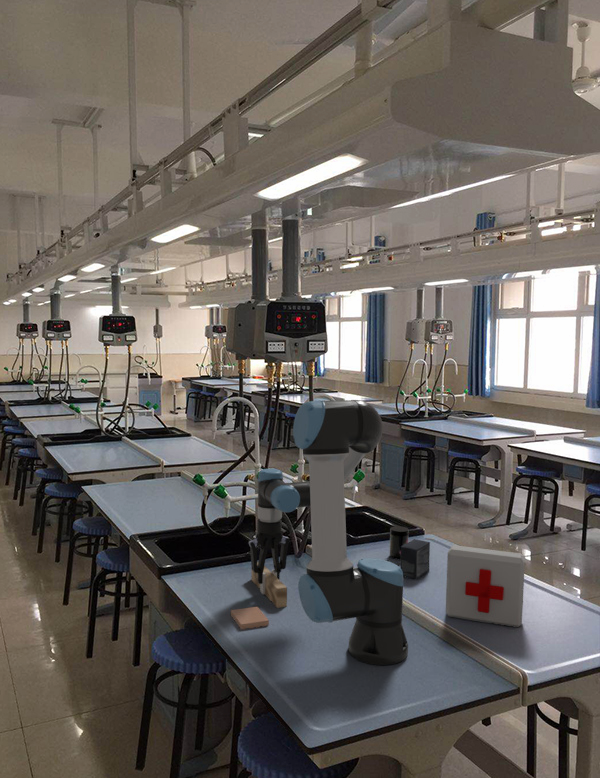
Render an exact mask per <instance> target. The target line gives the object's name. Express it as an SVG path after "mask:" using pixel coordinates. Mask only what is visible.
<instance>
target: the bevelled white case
mask: <svg viewBox="0 0 600 778" xmlns="http://www.w3.org/2000/svg"><path fill="white" fill-rule="evenodd" d="M448 549H449V550H448V552H447V563H446V566H447V567H446V585H445V586H446V589H445V590H446V591H445V595H446V596H445V613H446V615H447V616H448V617H451V618H456V619H461V620H468V621H473V622H474V621H475V622H481V623H487V624H492V623H494V624H493V625H498V624H501V626H504V625H509V626H508V627H511V626H515V627H514V628H517V627H518V628H519V627H520V626H521V625H523V609H524V608H523V606H524V588H525V587H524V585H525V584H524V583H525V567H526V565H525V564H526V559H525V556H524V555H523V554H522V553H520V552H512V551H504V550H496V549H495V550H494V549H487V548H481V547H472V546H464V545H456V544H453V545H452V546H451V547H450V548H448Z"/></svg>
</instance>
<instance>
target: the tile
mask: <svg viewBox="0 0 600 778" xmlns="http://www.w3.org/2000/svg"><path fill="white" fill-rule="evenodd" d="M230 616H231V618H232V617H233V618H234V619H233V618H232V619H233V621H234V620H235V621H236V622H237V623H236V622H235V621H234V622H235V623H236V625H237V624H238V625H239V626H238V625H237V626H238V628H239V627H240V628H241V629H243V630H246V629H245V628H250V629H254V628H253V627H256V628H261V627H260V626H262V627H268V626H267V625H269V624H270V620H269V619H268V617H267V616H266V615H265V614H264V613H263V611H262V610H261V609H260V608H259V606H252V607H245V608H237V609H231V610H230ZM269 626H270V625H269ZM240 628H239V629H240ZM241 629H240V630H241Z"/></svg>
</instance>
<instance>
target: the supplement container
mask: <svg viewBox="0 0 600 778" xmlns="http://www.w3.org/2000/svg"><path fill="white" fill-rule="evenodd" d="M409 531H410V529H409V528H408V527H406V526H397V525H396V526H391V527H390V529H389V556H390V558H392V559H395V560H401V546H403V545H405V544H406V543H408V542H409V535H410V533H409Z"/></svg>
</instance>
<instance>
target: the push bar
mask: <svg viewBox="0 0 600 778" xmlns="http://www.w3.org/2000/svg"><path fill="white" fill-rule="evenodd" d="M257 565H258V561H257ZM263 572H264V573H265V574H266V579H265V594H264V595H265V596H266V597H267V598H268V600H270V602H271V601H272V602H273V603H274V604H273V603H272V602H271V603H272V604H273V605H274V606H275V607H276V608H277V609H279V608H280V609H281V608H286V607H287V606H288V605H287V604H288V587H287V586H286V585H285V584H284V583H283V582H282V581H281V580H280V579H278V578H277V577H276V576H275V575H274V574H273V573H272V571H271V570H269V568H267V567H266V566H265V565H264V571H263ZM250 577H251V579H250V580H251V581H252V582H253V584H254V585H256V587H257V588H258V589H259V588H260V584H259V583H258V581H257V579H258V573H255V572H254V571H253V570H252V569H251V576H250Z"/></svg>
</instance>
